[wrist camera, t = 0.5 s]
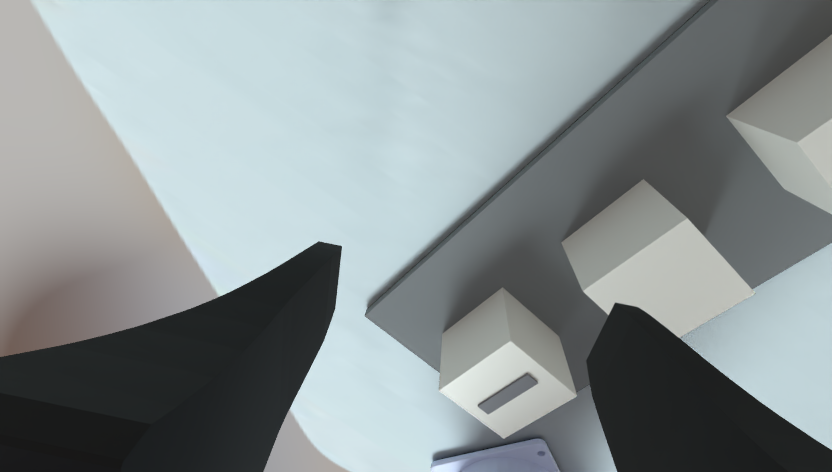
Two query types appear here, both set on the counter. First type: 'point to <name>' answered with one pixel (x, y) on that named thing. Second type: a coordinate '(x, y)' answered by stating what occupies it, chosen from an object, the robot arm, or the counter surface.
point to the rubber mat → (631, 183)
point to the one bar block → (504, 365)
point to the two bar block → (795, 126)
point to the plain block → (653, 262)
